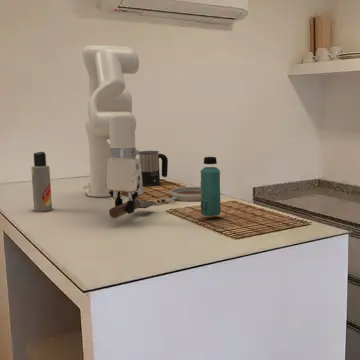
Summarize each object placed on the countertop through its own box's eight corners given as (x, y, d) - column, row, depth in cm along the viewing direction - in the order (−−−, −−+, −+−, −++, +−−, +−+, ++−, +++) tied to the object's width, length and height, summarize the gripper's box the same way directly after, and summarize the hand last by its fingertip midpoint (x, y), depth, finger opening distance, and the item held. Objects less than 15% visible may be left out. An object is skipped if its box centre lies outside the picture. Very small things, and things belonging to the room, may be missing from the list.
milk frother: (150, 186, 215) (149, 153, 212) (123, 183, 223) (122, 150, 221) (171, 182, 227) (170, 150, 224) (145, 179, 235) (144, 148, 233)
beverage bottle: (223, 216, 161) (223, 156, 158) (216, 221, 155) (216, 158, 151) (205, 215, 163) (204, 155, 160) (197, 219, 157) (196, 157, 154)
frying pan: (138, 195, 183) (190, 184, 204) (138, 203, 183) (191, 191, 205) (169, 201, 172) (222, 189, 194) (170, 210, 173) (222, 196, 195)
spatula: (140, 202, 169) (139, 193, 169) (156, 203, 168) (155, 194, 167) (105, 217, 147) (104, 207, 147) (123, 218, 146) (122, 208, 145)
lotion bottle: (55, 209, 171) (52, 151, 167) (42, 212, 166) (39, 153, 162) (43, 207, 173) (39, 150, 170) (30, 210, 168) (26, 152, 165)
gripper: (153, 153, 152) (154, 211, 154) (105, 151, 156) (107, 208, 159) (142, 155, 144) (143, 216, 147) (92, 154, 149) (95, 213, 152)
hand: (125, 211), depth 153 cm, fingers closed on spatula, 3 cm apart
